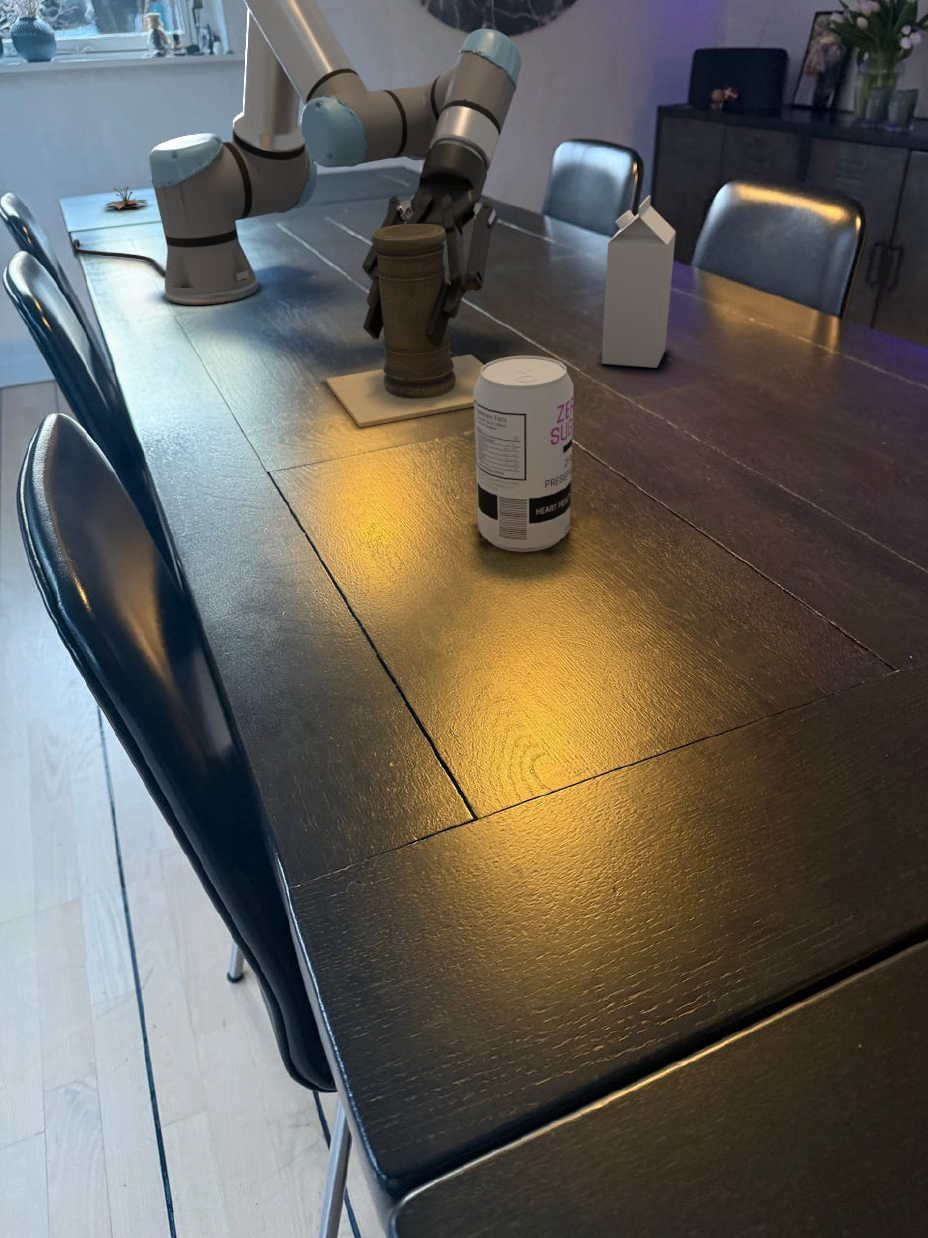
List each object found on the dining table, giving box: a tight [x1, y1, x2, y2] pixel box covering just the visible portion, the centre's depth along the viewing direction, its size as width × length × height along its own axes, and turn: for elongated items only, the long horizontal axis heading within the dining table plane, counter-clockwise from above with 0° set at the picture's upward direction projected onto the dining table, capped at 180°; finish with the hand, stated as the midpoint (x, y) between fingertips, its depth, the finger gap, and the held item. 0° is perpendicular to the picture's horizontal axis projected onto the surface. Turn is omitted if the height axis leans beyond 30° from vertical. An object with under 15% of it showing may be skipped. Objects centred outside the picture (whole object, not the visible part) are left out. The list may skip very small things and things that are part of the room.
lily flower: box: [102, 186, 148, 210], centre depth 222 cm, size 12×12×5 cm
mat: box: [325, 354, 485, 429], centre depth 111 cm, size 16×20×1 cm
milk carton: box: [601, 195, 677, 369], centre depth 112 cm, size 7×7×19 cm
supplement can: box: [473, 355, 575, 553], centre depth 77 cm, size 8×8×15 cm
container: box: [371, 223, 456, 398], centre depth 106 cm, size 9×9×18 cm
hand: (401, 336), depth 104 cm, fingers closed on container, 8 cm apart
